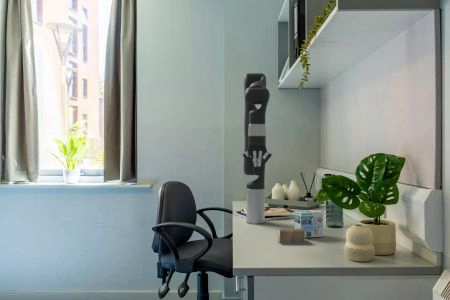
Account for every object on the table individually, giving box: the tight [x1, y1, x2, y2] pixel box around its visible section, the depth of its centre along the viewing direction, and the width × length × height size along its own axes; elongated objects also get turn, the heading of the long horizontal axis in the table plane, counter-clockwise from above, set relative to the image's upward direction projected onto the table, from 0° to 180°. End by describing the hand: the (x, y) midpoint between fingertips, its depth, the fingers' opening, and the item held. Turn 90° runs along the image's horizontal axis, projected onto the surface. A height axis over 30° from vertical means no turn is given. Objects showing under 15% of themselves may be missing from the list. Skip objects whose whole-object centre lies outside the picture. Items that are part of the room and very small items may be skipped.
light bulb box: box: [294, 209, 324, 239], centre depth 173 cm, size 11×7×11 cm, turn 105°
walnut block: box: [276, 228, 304, 244], centre depth 164 cm, size 4×4×10 cm
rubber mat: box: [280, 238, 313, 246], centre depth 164 cm, size 10×12×1 cm
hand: (256, 175), depth 172 cm, fingers closed
